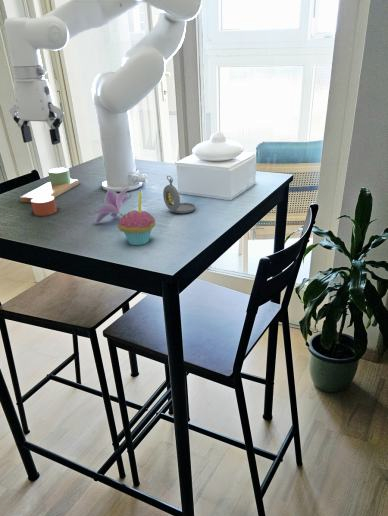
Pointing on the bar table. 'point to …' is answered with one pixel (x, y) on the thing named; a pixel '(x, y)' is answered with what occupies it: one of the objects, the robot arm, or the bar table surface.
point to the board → (49, 190)
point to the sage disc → (59, 176)
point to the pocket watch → (175, 200)
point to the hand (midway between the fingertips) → (42, 142)
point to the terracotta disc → (43, 205)
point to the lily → (112, 204)
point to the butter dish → (216, 169)
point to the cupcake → (137, 225)
